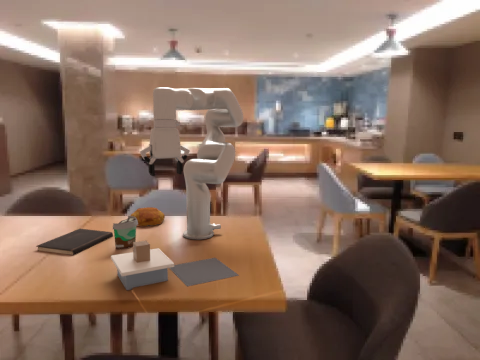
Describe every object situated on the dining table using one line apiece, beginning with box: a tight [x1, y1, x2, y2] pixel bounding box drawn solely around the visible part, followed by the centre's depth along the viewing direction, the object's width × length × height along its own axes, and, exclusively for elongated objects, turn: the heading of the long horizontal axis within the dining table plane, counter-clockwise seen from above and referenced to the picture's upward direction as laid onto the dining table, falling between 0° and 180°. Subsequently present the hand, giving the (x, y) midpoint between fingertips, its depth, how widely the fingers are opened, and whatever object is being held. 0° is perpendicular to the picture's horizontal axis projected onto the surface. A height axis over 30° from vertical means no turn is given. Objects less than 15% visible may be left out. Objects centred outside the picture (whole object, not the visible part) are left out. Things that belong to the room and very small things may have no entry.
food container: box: [112, 215, 138, 250], centre depth 145 cm, size 12×6×10 cm, turn 168°
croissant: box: [130, 207, 166, 227], centre depth 177 cm, size 14×16×8 cm
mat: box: [169, 257, 240, 287], centre depth 121 cm, size 17×17×1 cm
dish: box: [116, 268, 169, 291], centre depth 116 cm, size 12×12×5 cm
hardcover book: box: [35, 228, 114, 256], centre depth 148 cm, size 16×23×2 cm
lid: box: [110, 240, 175, 276], centre depth 115 cm, size 15×15×6 cm
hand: (166, 174), depth 134 cm, fingers open, 9 cm apart
